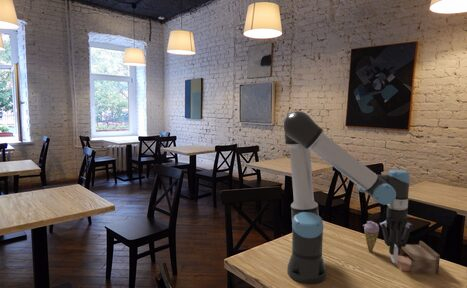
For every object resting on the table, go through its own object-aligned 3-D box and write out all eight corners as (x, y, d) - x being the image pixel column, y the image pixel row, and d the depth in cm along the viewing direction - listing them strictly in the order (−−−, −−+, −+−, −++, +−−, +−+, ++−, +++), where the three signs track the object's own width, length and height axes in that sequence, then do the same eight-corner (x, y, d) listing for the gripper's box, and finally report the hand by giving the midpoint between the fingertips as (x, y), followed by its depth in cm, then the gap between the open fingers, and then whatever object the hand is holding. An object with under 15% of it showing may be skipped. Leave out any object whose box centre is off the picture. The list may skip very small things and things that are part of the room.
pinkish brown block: (400, 271, 124) (401, 266, 124) (391, 261, 133) (391, 255, 133) (431, 272, 123) (432, 267, 123) (420, 262, 132) (420, 256, 132)
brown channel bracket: (412, 273, 122) (413, 254, 121) (397, 257, 135) (398, 240, 134) (438, 274, 121) (439, 255, 120) (421, 258, 134) (422, 241, 134)
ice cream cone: (359, 251, 142) (361, 219, 140) (364, 246, 146) (366, 216, 144) (374, 255, 137) (376, 223, 135) (379, 251, 142) (381, 219, 140)
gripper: (384, 209, 123) (381, 265, 126) (418, 210, 122) (414, 266, 125) (377, 204, 131) (374, 256, 133) (409, 205, 129) (406, 257, 132)
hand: (394, 261), depth 129 cm, fingers closed
